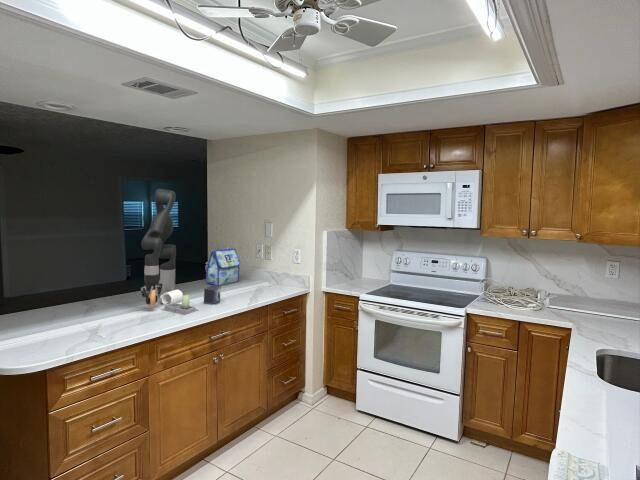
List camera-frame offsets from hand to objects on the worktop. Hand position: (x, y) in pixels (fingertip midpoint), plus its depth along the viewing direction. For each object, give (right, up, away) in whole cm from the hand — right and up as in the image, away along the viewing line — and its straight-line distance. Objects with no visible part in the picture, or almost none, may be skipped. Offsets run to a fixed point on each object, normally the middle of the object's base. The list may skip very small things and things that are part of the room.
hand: (151, 303), depth 223 cm
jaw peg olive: (+18, -5, +4) cm, 19 cm away
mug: (+2, -4, +21) cm, 22 cm away
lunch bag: (+20, +2, +83) cm, 86 cm away
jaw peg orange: (0, -1, 0) cm, 1 cm away
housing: (+14, -6, +6) cm, 16 cm away
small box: (+27, -5, +25) cm, 37 cm away
